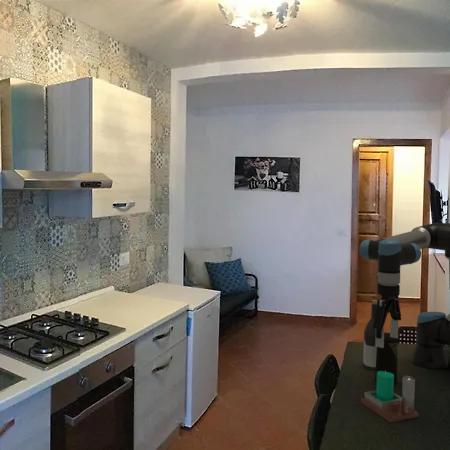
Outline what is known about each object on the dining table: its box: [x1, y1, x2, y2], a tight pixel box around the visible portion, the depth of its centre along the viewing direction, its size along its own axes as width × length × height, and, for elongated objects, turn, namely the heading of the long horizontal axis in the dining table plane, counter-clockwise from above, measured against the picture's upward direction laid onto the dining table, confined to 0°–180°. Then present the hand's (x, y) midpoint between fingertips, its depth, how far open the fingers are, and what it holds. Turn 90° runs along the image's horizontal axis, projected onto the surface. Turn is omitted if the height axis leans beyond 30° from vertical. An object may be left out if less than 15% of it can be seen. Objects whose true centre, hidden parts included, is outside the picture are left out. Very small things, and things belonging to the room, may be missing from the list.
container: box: [374, 331, 400, 386], centre depth 195 cm, size 9×9×20 cm
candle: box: [376, 370, 395, 401], centre depth 173 cm, size 6×6×12 cm
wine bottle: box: [362, 299, 378, 372], centre depth 210 cm, size 8×8×30 cm
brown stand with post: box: [360, 375, 420, 423], centre depth 171 cm, size 12×16×14 cm
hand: (386, 342), depth 172 cm, fingers open, 13 cm apart
